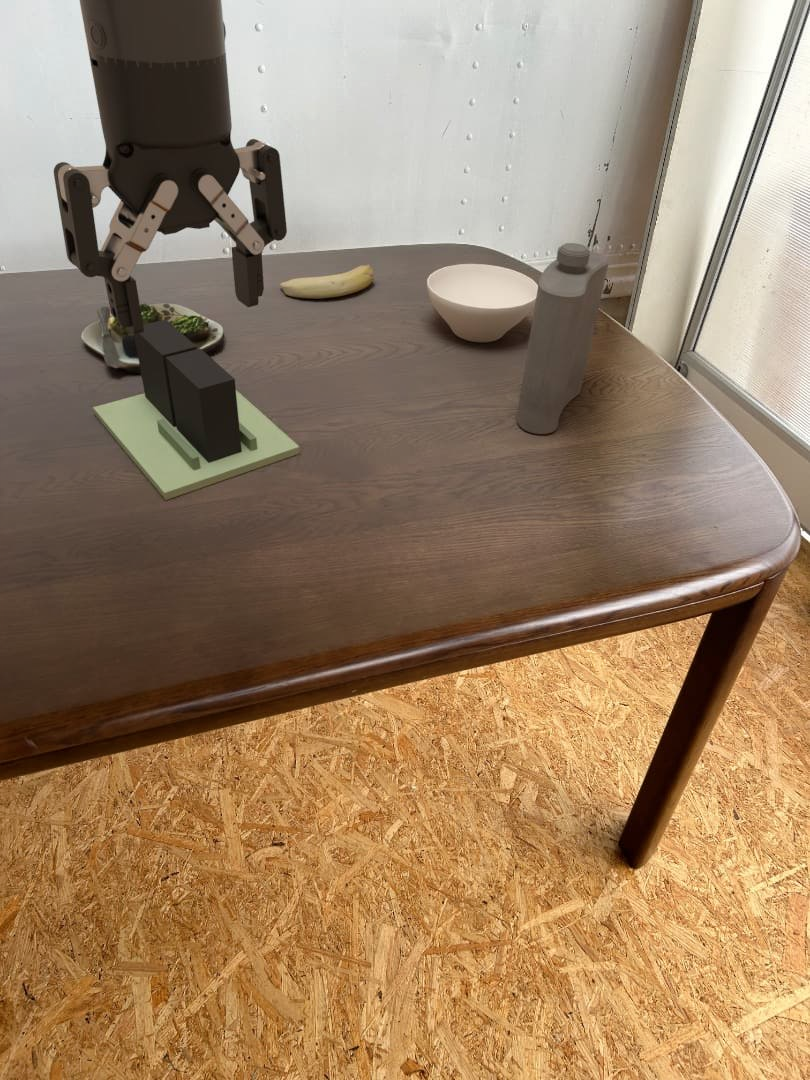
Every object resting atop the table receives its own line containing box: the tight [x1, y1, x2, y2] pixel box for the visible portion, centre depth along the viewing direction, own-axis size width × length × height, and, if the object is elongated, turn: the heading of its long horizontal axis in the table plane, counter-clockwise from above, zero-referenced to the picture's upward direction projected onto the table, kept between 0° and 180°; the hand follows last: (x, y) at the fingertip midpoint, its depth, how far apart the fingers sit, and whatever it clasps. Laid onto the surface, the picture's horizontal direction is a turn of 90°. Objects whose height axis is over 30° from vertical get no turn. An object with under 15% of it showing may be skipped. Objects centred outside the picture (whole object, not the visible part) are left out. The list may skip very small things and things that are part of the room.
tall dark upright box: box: [166, 349, 242, 463], centre depth 85 cm, size 4×8×9 cm, turn 37°
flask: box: [516, 242, 610, 435], centre depth 93 cm, size 15×6×20 cm, turn 154°
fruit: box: [279, 264, 375, 300], centre depth 122 cm, size 7×15×3 cm, turn 114°
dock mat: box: [92, 320, 300, 501], centre depth 87 cm, size 16×20×10 cm
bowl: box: [426, 263, 538, 343], centre depth 113 cm, size 16×16×7 cm
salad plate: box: [81, 302, 225, 374], centre depth 106 cm, size 19×18×5 cm
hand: (192, 315), depth 55 cm, fingers open, 8 cm apart
